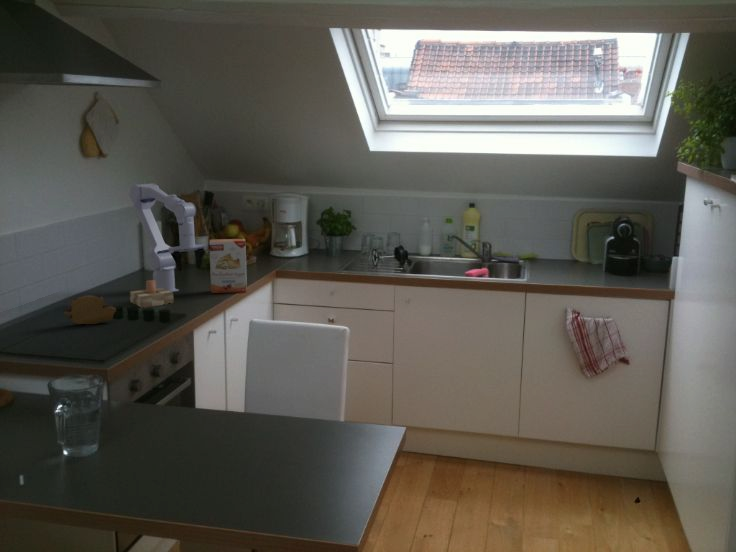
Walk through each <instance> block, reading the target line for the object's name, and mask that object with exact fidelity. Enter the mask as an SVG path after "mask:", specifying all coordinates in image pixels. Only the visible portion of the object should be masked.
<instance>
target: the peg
mask: <svg viewBox="0 0 736 552" xmlns="http://www.w3.org/2000/svg"><path fill="white" fill-rule="evenodd" d="M145 285H146V286H145V287H146V288H145V289H146V290H147V294H151V293H156V282H155V280H153V279H150V280H149V279H148V280H146V281H145Z"/></svg>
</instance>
